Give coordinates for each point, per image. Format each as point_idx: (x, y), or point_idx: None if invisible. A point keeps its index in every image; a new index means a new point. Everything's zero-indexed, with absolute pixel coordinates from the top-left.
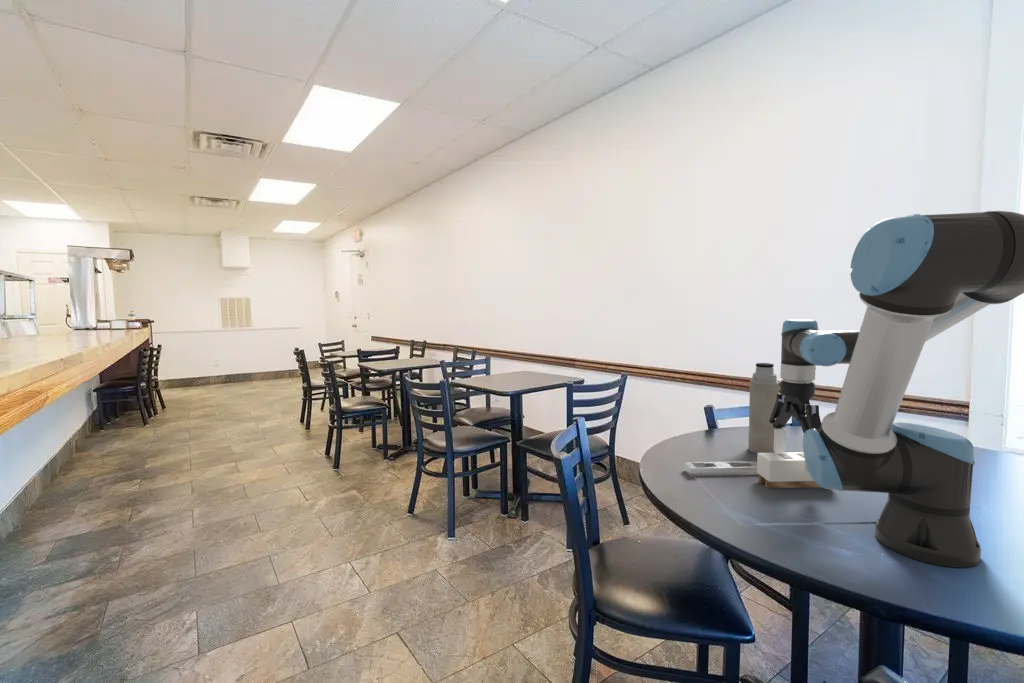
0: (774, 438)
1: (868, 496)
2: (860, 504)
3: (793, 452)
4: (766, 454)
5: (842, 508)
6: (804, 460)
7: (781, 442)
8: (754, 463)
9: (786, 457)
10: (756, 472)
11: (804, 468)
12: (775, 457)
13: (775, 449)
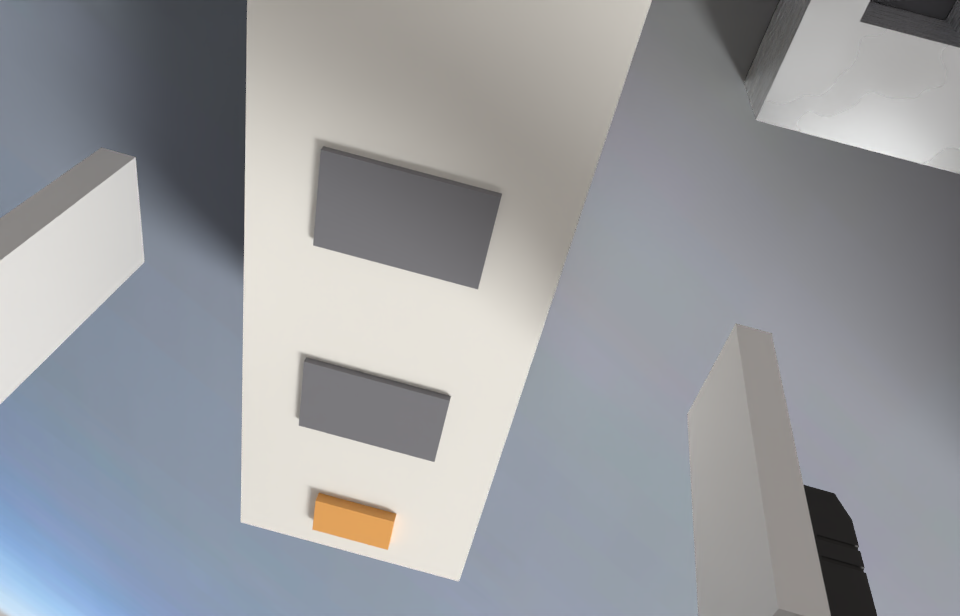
0: (788, 468)
1: (228, 423)
2: (114, 298)
3: (509, 404)
4: (546, 28)
5: (39, 147)
6: (243, 305)
7: (713, 476)
8: (918, 99)
9: (341, 189)
10: (792, 3)
11: (117, 170)
12: (390, 58)
13: (738, 352)
